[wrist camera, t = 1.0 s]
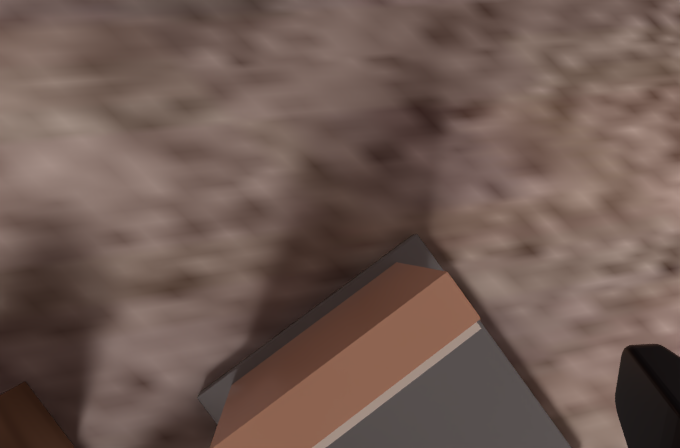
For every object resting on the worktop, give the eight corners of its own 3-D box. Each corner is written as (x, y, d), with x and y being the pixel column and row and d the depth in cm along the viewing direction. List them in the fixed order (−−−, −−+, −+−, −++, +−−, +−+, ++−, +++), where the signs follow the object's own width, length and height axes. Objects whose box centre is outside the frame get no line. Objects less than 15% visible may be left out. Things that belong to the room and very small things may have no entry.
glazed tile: (260, 423, 19) (250, 507, 13) (231, 384, 19) (207, 451, 13) (424, 300, 19) (486, 326, 14) (396, 262, 19) (447, 271, 13)
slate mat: (373, 626, 20) (375, 638, 19) (199, 392, 19) (196, 397, 19) (577, 461, 20) (586, 468, 20) (413, 234, 20) (417, 234, 20)
